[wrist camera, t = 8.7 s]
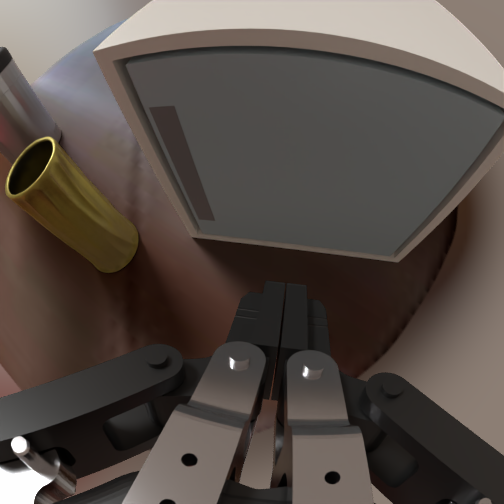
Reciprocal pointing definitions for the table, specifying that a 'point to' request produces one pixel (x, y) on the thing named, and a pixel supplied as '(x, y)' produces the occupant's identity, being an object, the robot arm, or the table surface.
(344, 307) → the table surface
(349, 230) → the door
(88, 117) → the table surface
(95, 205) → the vase
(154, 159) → the housing
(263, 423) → the table surface
